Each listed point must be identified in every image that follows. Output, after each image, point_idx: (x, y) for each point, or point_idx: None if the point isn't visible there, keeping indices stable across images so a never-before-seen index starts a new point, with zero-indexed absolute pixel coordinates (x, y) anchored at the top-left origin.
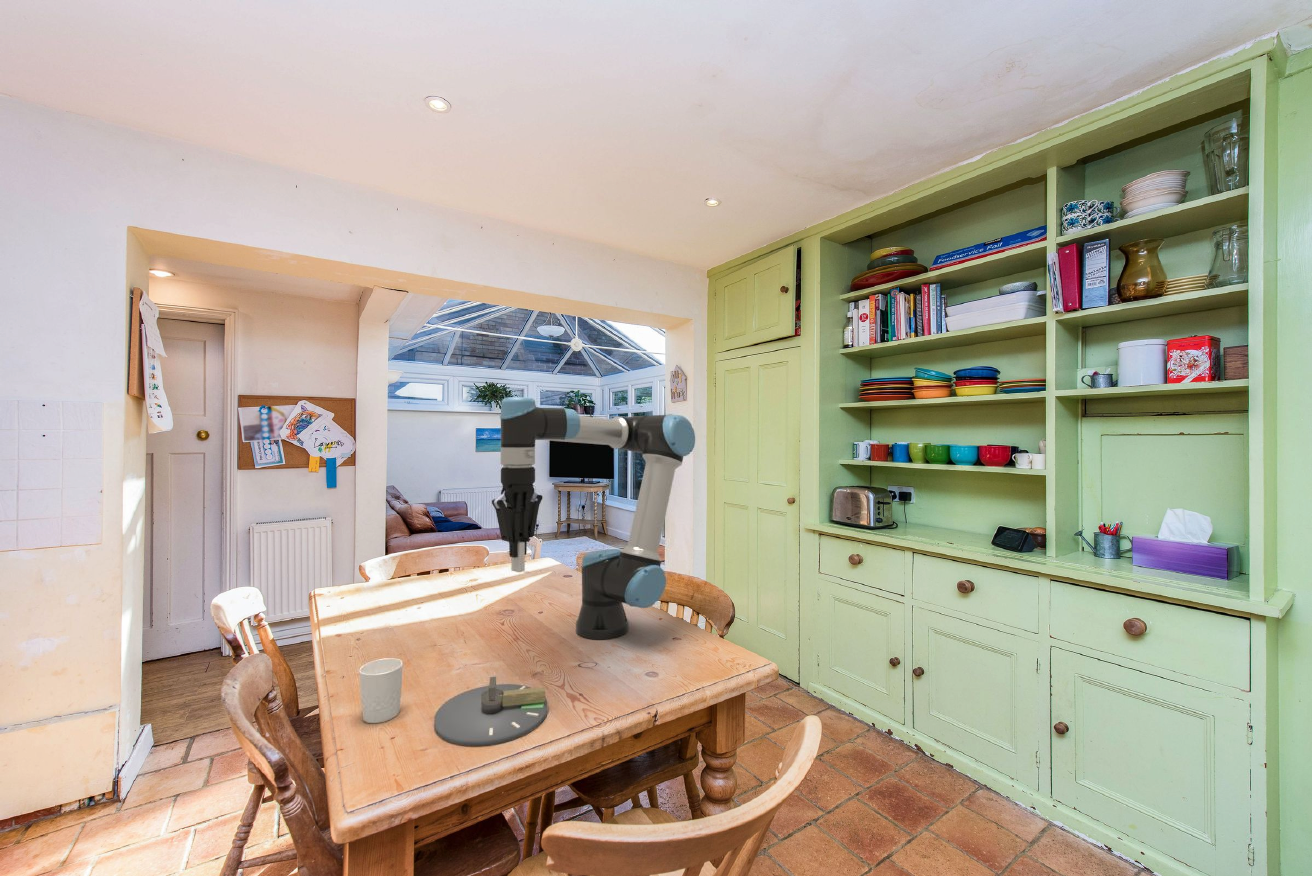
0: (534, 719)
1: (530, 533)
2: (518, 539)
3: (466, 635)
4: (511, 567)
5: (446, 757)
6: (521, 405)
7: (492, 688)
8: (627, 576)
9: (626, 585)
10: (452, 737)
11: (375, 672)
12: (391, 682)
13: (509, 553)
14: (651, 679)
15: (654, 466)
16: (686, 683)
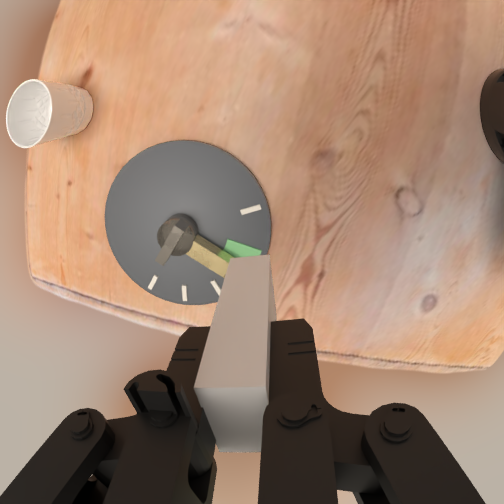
0: (213, 297)
1: (356, 496)
2: (206, 476)
3: None
4: (228, 266)
5: (105, 270)
6: None
7: (160, 263)
8: None
9: None
10: (113, 253)
11: (40, 84)
12: (43, 143)
13: (177, 345)
14: (415, 313)
15: None
16: (423, 347)
